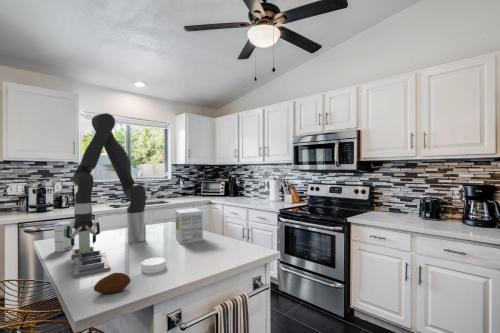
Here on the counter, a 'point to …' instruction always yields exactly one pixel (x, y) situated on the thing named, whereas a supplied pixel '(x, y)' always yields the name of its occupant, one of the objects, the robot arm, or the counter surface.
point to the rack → (91, 263)
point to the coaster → (153, 265)
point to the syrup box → (62, 236)
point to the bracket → (79, 253)
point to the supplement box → (189, 225)
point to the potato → (112, 283)
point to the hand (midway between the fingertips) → (83, 244)
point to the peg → (84, 241)
